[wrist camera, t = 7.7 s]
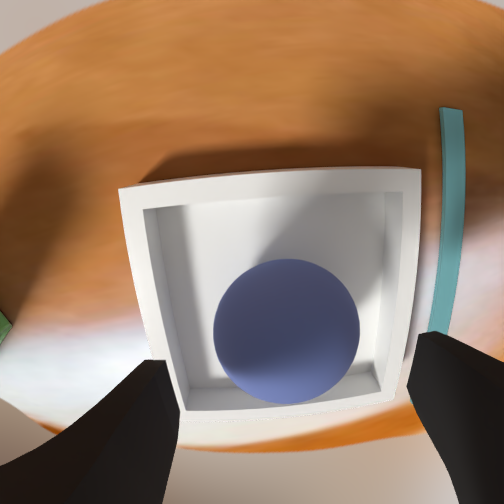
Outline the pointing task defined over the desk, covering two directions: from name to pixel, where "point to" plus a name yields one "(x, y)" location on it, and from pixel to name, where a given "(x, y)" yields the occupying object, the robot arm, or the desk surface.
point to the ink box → (4, 327)
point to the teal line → (449, 218)
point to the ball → (286, 331)
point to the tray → (267, 249)
